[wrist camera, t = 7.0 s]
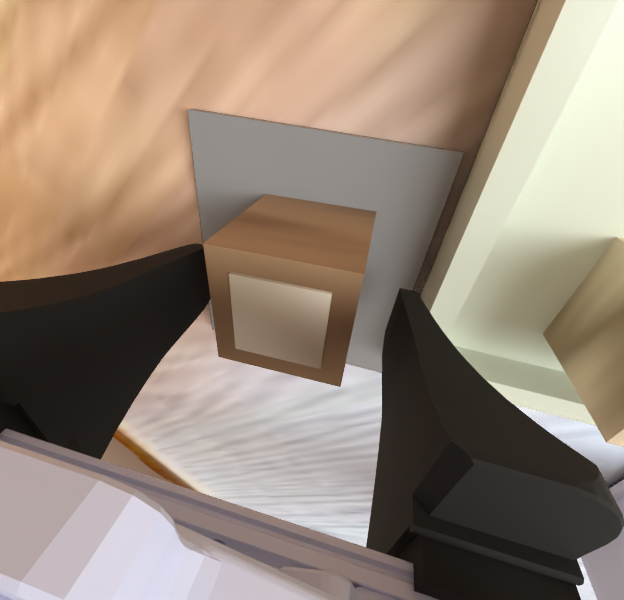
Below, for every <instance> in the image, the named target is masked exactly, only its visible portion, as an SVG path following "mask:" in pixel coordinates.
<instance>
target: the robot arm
mask: <svg viewBox="0 0 624 600" xmlns="http://www.w3.org/2000/svg"><path fill="white" fill-rule="evenodd" d="M210 299H211V297H210V290H209V283H208V276H207V269H206V262H205V254H204V247H203V245H201V244H191V245H187V246H183V247H179V248H175V249H172V250H169V251H165V252H162V253H158V254H155V255H152V256H148V257H145V258H141V259H138V260H134V261H130V262H126V263H123V264H119V265H115V266H111V267H107V268H102V269H98V270H92V271H87V272H82V273H76V274H70V275H62V276H55V277H47V278H40V279H30V280H19V281H6V282H0V600H581V598H580V596H579V593H578V590H577V587H576V585H579V586H580V585H582V584H583V583H584V577H583V575H582V572H581V569H580V567H579V564H578V561H577V559H578V558H580V557H581V559H582V561H583V564H584V567H585V569H586V572H587V574H588V577H589V579H590V582H591V585H592V587H593V590H594V592H595V595H596V598H597V600H624V480H622V481H620V482H619V483H617V484H616V485H614V486H613V487H611V488H608V486H607V484H606V482H605V480H604V478H603V476H602V474H601V472H600V471H599V469H598V467H597V466H596V465H595V464H594V463H592V462H591V461H589V460H588V459H586V458H585V457H584V456H582V455H581V454H579V453H578V452H576V451H575V450H573V449H572V448H571V447H569V446H568V445H566V444H565V443H563V442H562V441H560V440H559V439H558V438H556V437H555V436H553V435H552V434H550V433H549V432H548V431H546V430H545V429H544V428H542V427H541V426H540V425H538V424H537V423H536V422H535V421H533V420H532V419H531V418H529V417H528V416H527V415H526V414H524V413H523V412H522V411H521V410H519V409H518V408H517V407H516V406H515V405H513V404H512V403H511V402H510V401H509V400H507V399H506V398H505V397H504V396H503V395H502V394H501V393H500V392H498V391H497V390H496V389H495V388H494V387H493V386H492V385H491V384H490V383H488V382H487V381H486V380H485V379H484V378H483V377H482V376H481V375H480V374H479V373H478V372H477V371H476V370H475V369H474V367H473V366H472V365H471V364H470V363H469V362H468V361H467V360H466V359H465V358H464V357H463V356H462V354H461V353H460V352H459V351H458V350H457V349H456V347H455V346H454V345H453V344H452V342H451V341H450V340H449V339H448V337H447V336H446V335H445V333H444V332H443V331H442V329H441V328H440V326H439V325H438V323H437V322H436V321H435V319H434V318H433V316H432V315H431V313H430V311H429V310H428V308H427V307H426V305H425V304H424V302H423V300H422V299H421V297H420V295H419V294H418V292H416V291H411V290H406V289H402V288H399V291H398V294H397V297H396V300H395V303H394V306H393V309H392V312H391V315H390V318H389V321H388V324H387V327H386V330H385V335H384V342H383V350H382V422H381V432H380V442H379V452H378V460H377V469H376V478H375V486H374V494H373V502H372V510H371V517H370V524H369V531H368V538H367V545H366V547H363V546H360V545H357V544H354V543H350V542H347V541H344V540H341V539H338V538H335V537H332V536H329V535H326V534H323V533H320V532H317V531H314V530H311V529H308V528H305V527H302V526H299V525H296V524H293V523H290V522H287V521H284V520H281V519H278V518H275V517H272V516H269V515H266V514H263V513H260V512H257V511H254V510H251V509H248V508H245V507H242V506H239V505H236V504H233V503H230V502H227V501H224V500H221V499H218V498H215V497H212V496H209V495H206V494H202V493H199V492H196V491H193V490H190V489H187V488H184V487H181V486H178V485H175V484H172V483H169V482H166V481H163V480H160V479H157V478H154V477H151V476H148V475H145V474H142V473H139V472H136V471H133V470H130V469H127V468H124V467H121V466H118V465H115V464H112V463H109V462H106V461H103V460H101V458H102V456H103V454H104V452H105V450H106V448H107V447H108V445H109V443H110V441H111V439H112V437H113V436H114V434H115V432H116V430H117V428H118V427H119V425H120V423H121V422H122V420H123V418H124V416H125V415H126V413H127V411H128V410H129V408H130V406H131V405H132V403H133V401H134V400H135V398H136V397H137V395H138V394H139V392H140V390H141V389H142V387H143V386H144V384H145V383H146V381H147V380H148V378H149V377H150V375H151V374H152V372H153V371H154V369H155V368H156V367H157V365H158V364H159V362H160V361H161V359H162V358H163V357H164V356H165V354H166V353H167V352H168V351H169V349H170V348H171V347H172V346H173V345H174V344H175V343H176V341H177V340H178V339H179V338H180V337H181V336H182V335H183V333H184V332H185V331H186V330H187V329H188V328H189V326H190V325H191V324H192V323H193V322H194V321H195V320H196V318H197V317H198V316H199V315H200V314H201V312H202V311H203V310H204V308H205V307H206V305H207V304H208V302H209V301H210ZM263 563H264V564H263ZM265 564H267V565H270V566H272V567H275V568H278V569H279V571H278V570H276V569H274V568H272V567H269V566H267V565H265Z"/></svg>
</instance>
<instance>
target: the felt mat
mask: <svg viewBox="0 0 624 600" xmlns="http://www.w3.org/2000/svg"><path fill="white" fill-rule="evenodd" d="M188 117H189V126H190V135H191V144H192V153H193V162H194V170H195V179H196V188H197V197H198V206H199V215H200V224H201V233H202V242H203V243H204V242H205V241H207V240H208V239H209V238H211V237H212V236H213V235H214V234H216V233H217V232H218V231H220V230H221V229H222V228H223V227H225V226H226V225H227V224H229V223H230V222H231V221H232V220H234V219H235V218H236V217H238V216H239V215H240V214H241V213H243V212H244V211H245V210H247V209H248V208H249V207H250V206H252V205H253V204H254V203H256V202H257V201H258V200H259V199H261V198H262V197H263V196H265V195H266V194H270V195H276V196H282V197H289V198H295V199H301V200H307V201H314V202H320V203H326V204H332V205H339V206H345V207H351V208H357V209H364V210H370V211H376V217H375V222H374V227H373V232H372V238H371V243H370V248H369V253H368V258H367V264H366V269H365V274H364V279H363V283H362V288H361V293H360V297H359V302H358V307H357V311H356V316H355V321H354V325H353V330H352V335H351V339H350V344H349V349H348V353H347V358H346V364H350V365H354V366H357V367H361V368H365V369H369V370H373V371H377V372H381V373H382V350H383V342H384V335H385V330H386V327H387V324H388V321H389V318H390V315H391V312H392V309H393V306H394V303H395V300H396V297H397V294H398V291H399V288H402V289H406V290H411V291H413V288H414V286H415V283H416V280H417V278H418V275H419V272H420V270H421V267H422V264H423V262H424V259H425V256H426V254H427V251H428V248H429V246H430V243H431V240H432V238H433V235H434V232H435V230H436V227H437V224H438V222H439V219H440V216H441V214H442V211H443V208H444V206H445V203H446V200H447V198H448V195H449V192H450V189H451V187H452V184H453V181H454V179H455V176H456V173H457V171H458V168H459V165H460V163H461V160H462V157H463V155H464V153H463V152H461V151H455V150H448V149H442V148H436V147H429V146H423V145H417V144H411V143H404V142H398V141H392V140H385V139H379V138H373V137H367V136H360V135H354V134H348V133H341V132H335V131H329V130H323V129H316V128H310V127H304V126H297V125H291V124H285V123H278V122H272V121H266V120H260V119H253V118H247V117H241V116H234V115H228V114H222V113H216V112H209V111H203V110H197V109H188ZM209 304H210V313H211V322H212V329H213V330H215V326H214V319H213V312H212V304H211V299H210V301H209Z"/></svg>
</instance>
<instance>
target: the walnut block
mask: <svg viewBox="0 0 624 600" xmlns="http://www.w3.org/2000/svg"><path fill="white" fill-rule="evenodd" d="M375 217H376V211H370V210H364V209H357V208H351V207H345V206H339V205H332V204H326V203H320V202H314V201H307V200H301V199H295V198H289V197H282V196H276V195H270V194H266V195H265V196H263V197H262V198H261V199H259V200H258V201H257V202H256V203H254V204H253V205H252V206H250V207H249V208H248V209H247V210H245V211H244V212H243V213H241V214H240V215H239V216H238V217H236V218H235V219H234V220H232V221H231V222H230V223H229V224H227V225H226V226H225V227H223V228H222V229H221V230H220V231H218V232H217V233H216V234H214V235H213V236H212V237H211V238H209V239H208V240H207V241H205V242H204V243H203V247H204V254H205V262H206V269H207V276H208V283H209V290H210V297H211V304H212V312H213V319H214V326H215V333H216V340H217V347H218V355H219V357H222V358H226V359H230V360H234V361H238V362H242V363H246V364H250V365H254V366H258V367H262V368H266V369H270V370H274V371H278V372H282V373H287V374H291V375H295V376H299V377H303V378H307V379H311V380H315V381H319V382H323V383H327V384H331V385H335V386H339V387H340V386H341V381H342V377H343V372H344V367H345V363H346V358H347V353H348V349H349V344H350V339H351V335H352V330H353V325H354V321H355V316H356V311H357V307H358V302H359V297H360V293H361V288H362V283H363V279H364V274H365V269H366V264H367V258H368V253H369V248H370V243H371V238H372V232H373V227H374V222H375Z"/></svg>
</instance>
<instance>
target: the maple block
mask: <svg viewBox="0 0 624 600" xmlns="http://www.w3.org/2000/svg"><path fill="white" fill-rule="evenodd" d="M543 335H544V337H545V339H546V340H547V342H548V344H549V345H550V347H551V349H552V351H553V352H554V354H555V356H556V357H557V359H558V361H559V362H560V364H561V366H562V368H563V369H564V371H565V373H566V374H567V376H568V378H569V380H570V381H571V383H572V385H573V386H574V388H575V390H576V391H577V393H578V395H579V397H580V398H581V400H582V402H583V403H584V405H585V407H586V408H587V410H588V412H589V414H590V415H591V417H592V419H593V420H594V422H595V424H596V426H597V427H598V429H599V431H600V432H601V434H602V436H603V437H604V439H605V441H606V442H607V443H611V444H615V445H618V446H622V447H624V238H619V237H616V238H615V239H614V241H613V242H612V243H611V245H610V246H609V247H608V249H607V250H606V251H605V253H604V254H603V255H602V257H601V258H600V259H599V261H598V262H597V263H596V264H595V266H594V267H593V268H592V270H591V271H590V272H589V274H588V275H587V276H586V278H585V279H584V280H583V282H582V283H581V284H580V286H579V287H578V288H577V289H576V291H575V292H574V293H573V295H572V296H571V297H570V299H569V300H568V301H567V303H566V304H565V305H564V307H563V308H562V309H561V311H560V312H559V313H558V314H557V316H556V317H555V318H554V320H553V321H552V322H551V324H550V325H549V326H548V328H547V329H546V330H545V332H544V333H543Z"/></svg>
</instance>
